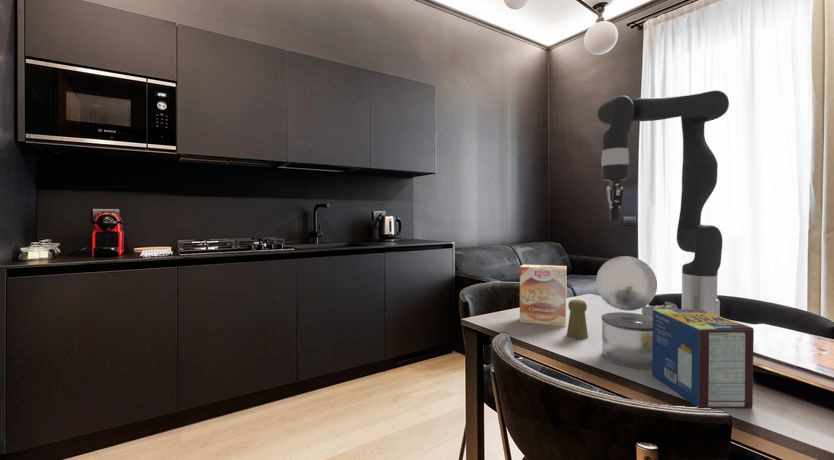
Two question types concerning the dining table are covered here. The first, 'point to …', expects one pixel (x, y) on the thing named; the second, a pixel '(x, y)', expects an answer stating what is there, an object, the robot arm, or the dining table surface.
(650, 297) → the cooker lid
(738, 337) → the protein box
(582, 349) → the dining table surface
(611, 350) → the cooker pot
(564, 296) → the coffeecake box
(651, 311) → the food container
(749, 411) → the dining table surface
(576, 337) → the cork
